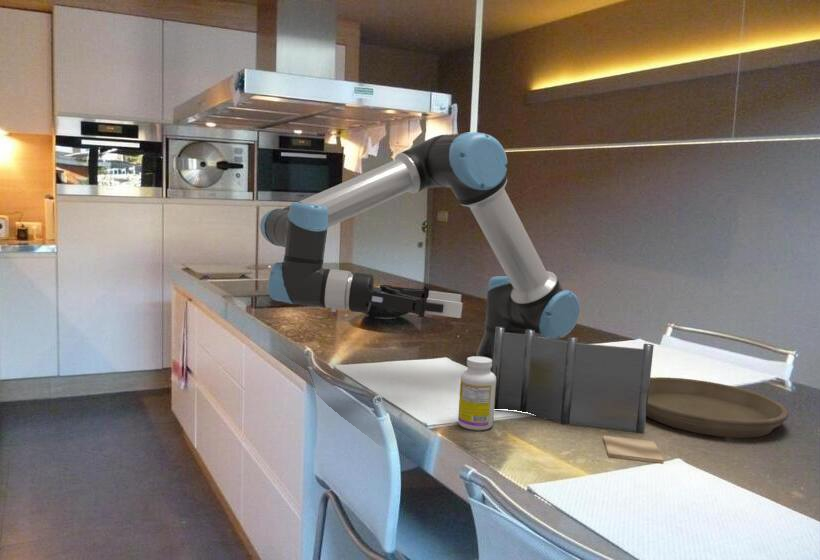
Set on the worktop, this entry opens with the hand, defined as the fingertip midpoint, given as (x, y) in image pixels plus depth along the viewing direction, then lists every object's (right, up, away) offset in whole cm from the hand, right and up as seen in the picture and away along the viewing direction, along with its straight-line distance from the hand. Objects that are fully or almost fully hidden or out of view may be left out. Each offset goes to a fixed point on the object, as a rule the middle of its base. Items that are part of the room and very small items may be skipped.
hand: (461, 305), depth 129 cm
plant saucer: (+52, -24, +14) cm, 58 cm away
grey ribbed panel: (+21, -23, +5) cm, 31 cm away
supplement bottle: (+3, -23, -1) cm, 23 cm away
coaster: (+29, -25, -9) cm, 40 cm away
